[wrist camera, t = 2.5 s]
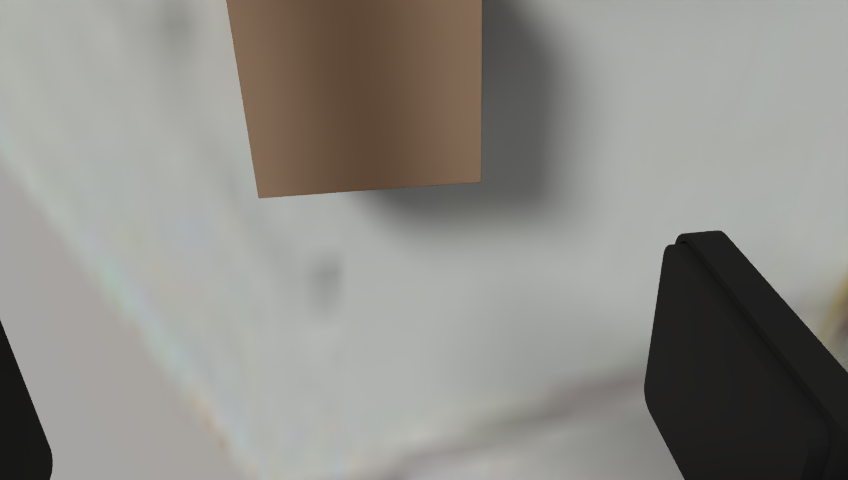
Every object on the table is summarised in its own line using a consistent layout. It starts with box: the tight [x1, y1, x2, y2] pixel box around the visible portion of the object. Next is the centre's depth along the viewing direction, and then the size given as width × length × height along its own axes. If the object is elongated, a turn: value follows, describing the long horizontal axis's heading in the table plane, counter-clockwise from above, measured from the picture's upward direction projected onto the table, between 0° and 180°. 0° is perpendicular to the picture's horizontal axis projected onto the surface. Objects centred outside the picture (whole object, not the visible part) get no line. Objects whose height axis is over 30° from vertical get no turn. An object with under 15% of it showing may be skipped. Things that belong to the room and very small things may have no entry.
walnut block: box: [226, 0, 482, 198], centre depth 22 cm, size 6×6×6 cm
